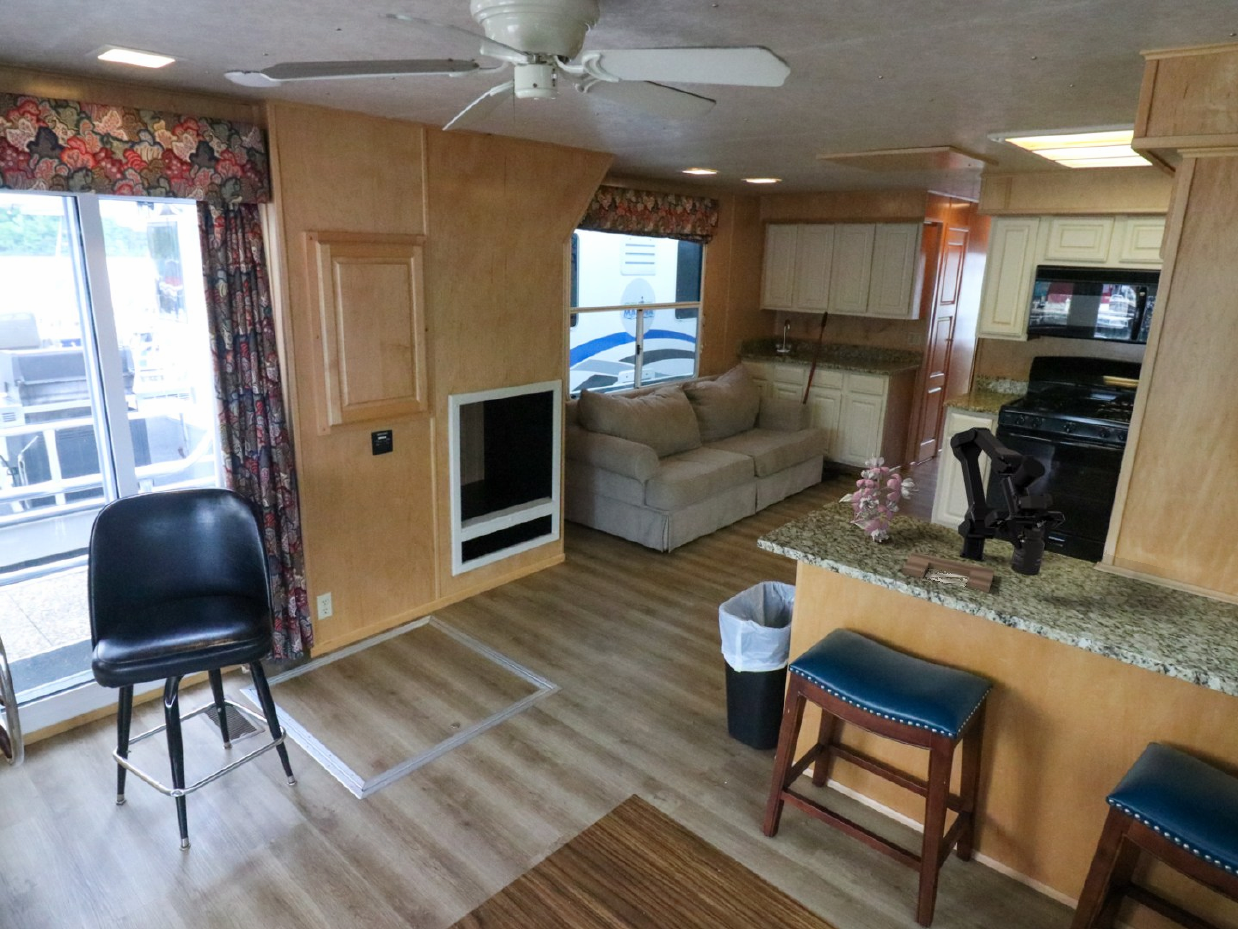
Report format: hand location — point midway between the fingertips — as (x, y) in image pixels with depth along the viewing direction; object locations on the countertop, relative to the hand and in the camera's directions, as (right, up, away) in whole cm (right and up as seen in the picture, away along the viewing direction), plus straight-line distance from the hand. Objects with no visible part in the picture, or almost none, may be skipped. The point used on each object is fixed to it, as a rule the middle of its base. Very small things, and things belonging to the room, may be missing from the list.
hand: (1032, 549), depth 198 cm
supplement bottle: (0, -6, +3) cm, 7 cm away
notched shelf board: (-15, -9, +16) cm, 24 cm away
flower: (-26, -1, +46) cm, 53 cm away
